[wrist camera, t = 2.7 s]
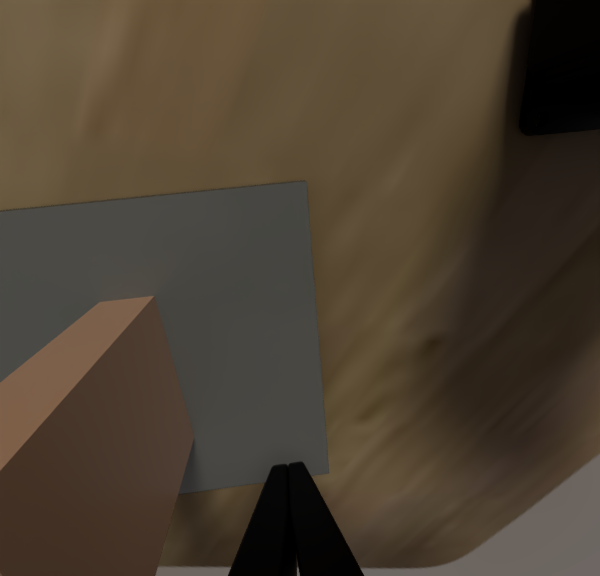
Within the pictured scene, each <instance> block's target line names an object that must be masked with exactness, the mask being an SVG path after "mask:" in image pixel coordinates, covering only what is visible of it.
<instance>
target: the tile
mask: <svg viewBox="0 0 600 576" xmlns="http://www.w3.org/2000/svg"><path fill="white" fill-rule="evenodd" d="M193 440H194V434H193V430H192V427H191V423H190V420H189V416H188V413H187V409H186V406H185V402H184V399H183V395H182V392H181V388H180V385H179V381H178V378H177V374H176V370H175V367H174V363H173V360H172V356H171V353H170V349H169V346H168V342H167V339H166V335H165V332H164V328H163V325H162V321H161V317H160V314H159V310H158V307H157V303H156V300H155V296H149V297H140V298H131V299H122V300H113V301H104V302H99V303H98V304H97V305H95V306H94V307H93V308H92V309H90V310H89V311H88V312H87V313H85V314H84V315H83V316H82V317H81V318H79V319H78V320H77V321H76V322H74V323H73V324H72V325H71V326H69V327H68V328H67V329H66V330H64V331H63V332H62V333H61V334H60V335H58V336H57V337H56V338H55V339H53V340H52V341H51V342H50V343H48V344H47V345H46V346H45V347H44V348H42V349H41V350H40V351H39V352H37V353H36V354H35V355H34V356H32V357H31V358H30V359H29V360H27V361H26V362H25V363H24V364H23V365H21V366H20V367H19V368H18V369H16V370H15V371H14V372H13V373H11V374H10V375H9V376H8V377H6V378H5V379H4V380H3V381H2V382H0V576H155V575H156V570H157V567H158V564H159V560H160V557H161V553H162V550H163V546H164V543H165V539H166V536H167V532H168V528H169V525H170V521H171V518H172V514H173V511H174V507H175V504H176V500H177V497H178V493H179V489H180V486H181V482H182V479H183V475H184V472H185V468H186V465H187V461H188V458H189V454H190V451H191V447H192V443H193Z"/></svg>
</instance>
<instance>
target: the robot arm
mask: <svg viewBox="0 0 600 576" xmlns="http://www.w3.org/2000/svg"><path fill="white" fill-rule="evenodd" d="M527 65H528V66H527V73H526V79H525V86H524V93H523V100H522V106H521V113H520V120H519V128H520V130H521V132H522V133H523V134H525V135H528V136H534V135H544V134H554V133H565V132H575V131H585V130H596V129H600V0H536V6H535V13H534V19H533V26H532V33H531V40H530V47H529V53H528V60H527ZM537 114H539V115H540V121H539V123H538V125H537V126H536V125H535V121H534V119H535V117H536V115H537ZM296 554H297V556H296ZM297 560H298V567H299V573H300V576H364V574H363V573H362V571H361V569H360V567H359V565H358V563H357V561H356V559H355V558H354V556H353V554H352V552H351V550H350V548H349V546H348V544H347V543H346V541H345V539H344V537H343V535H342V533H341V531H340V529H339V528H338V526H337V524H336V522H335V520H334V518H333V516H332V514H331V513H330V511H329V509H328V507H327V505H326V503H325V501H324V499H323V498H322V496H321V494H320V492H319V490H318V488H317V486H316V484H315V483H314V481H313V479H312V477H311V475H310V473H309V471H308V469H307V468H306V466H305V464H304V463H303V462H302V461H299V462H292V463H289V464H288V465H287V464H278V465H273V466H272V468H271V470H270V472H269V475H268V477H267V480H266V482H265V484H264V487H263V489H262V492H261V494H260V497H259V499H258V502H257V504H256V507H255V509H254V512H253V514H252V517H251V519H250V522H249V524H248V527H247V529H246V532H245V534H244V537H243V539H242V542H241V544H240V547H239V549H238V552H237V554H236V557H235V559H234V562H233V564H232V567H231V569H230V572H229V574H228V576H297Z"/></svg>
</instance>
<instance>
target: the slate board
mask: <svg viewBox="0 0 600 576" xmlns="http://www.w3.org/2000/svg"><path fill="white" fill-rule="evenodd" d="M149 296H155V300H156V303H157V307H158V310H159V314H160V317H161V321H162V325H163V328H164V332H165V335H166V339H167V342H168V346H169V349H170V353H171V356H172V360H173V363H174V367H175V370H176V374H177V378H178V381H179V385H180V388H181V392H182V395H183V399H184V402H185V406H186V409H187V413H188V416H189V420H190V423H191V427H192V430H193V434H194V440H193V443H192V447H191V451H190V454H189V458H188V461H187V465H186V468H185V472H184V475H183V479H182V482H181V486H180V489H179V493H178V494H185V493H192V492H199V491H206V490H213V489H220V488H228V487H235V486H242V485H249V484H256V483H263V482H266V480H267V477H268V475H269V472H270V470H271V468H272V466H273V465H278V464H287V465H288V464H289V463H292V462H299V461H302V462H303V463H304V464H305V466H306V468H307V469H308V471H309V473H310V475H311V476H313V475H320V474H327V473H329V463H328V451H327V438H326V425H325V412H324V400H323V387H322V374H321V361H320V349H319V336H318V323H317V311H316V298H315V285H314V272H313V260H312V247H311V234H310V221H309V209H308V196H307V183H306V181H305V180H301V181H291V182H281V183H271V184H261V185H251V186H241V187H231V188H221V189H211V190H201V191H191V192H181V193H171V194H161V195H151V196H141V197H131V198H121V199H111V200H101V201H91V202H81V203H71V204H61V205H51V206H41V207H30V208H20V209H10V210H0V382H2V381H3V380H4V379H5V378H6V377H8V376H9V375H10V374H11V373H13V372H14V371H15V370H16V369H18V368H19V367H20V366H21V365H23V364H24V363H25V362H26V361H27V360H29V359H30V358H31V357H32V356H34V355H35V354H36V353H37V352H39V351H40V350H41V349H42V348H44V347H45V346H46V345H47V344H48V343H50V342H51V341H52V340H53V339H55V338H56V337H57V336H58V335H60V334H61V333H62V332H63V331H64V330H66V329H67V328H68V327H69V326H71V325H72V324H73V323H74V322H76V321H77V320H78V319H79V318H81V317H82V316H83V315H84V314H85V313H87V312H88V311H89V310H90V309H92V308H93V307H94V306H95V305H97V304H98V303H99V302H104V301H113V300H122V299H131V298H140V297H149Z"/></svg>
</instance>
